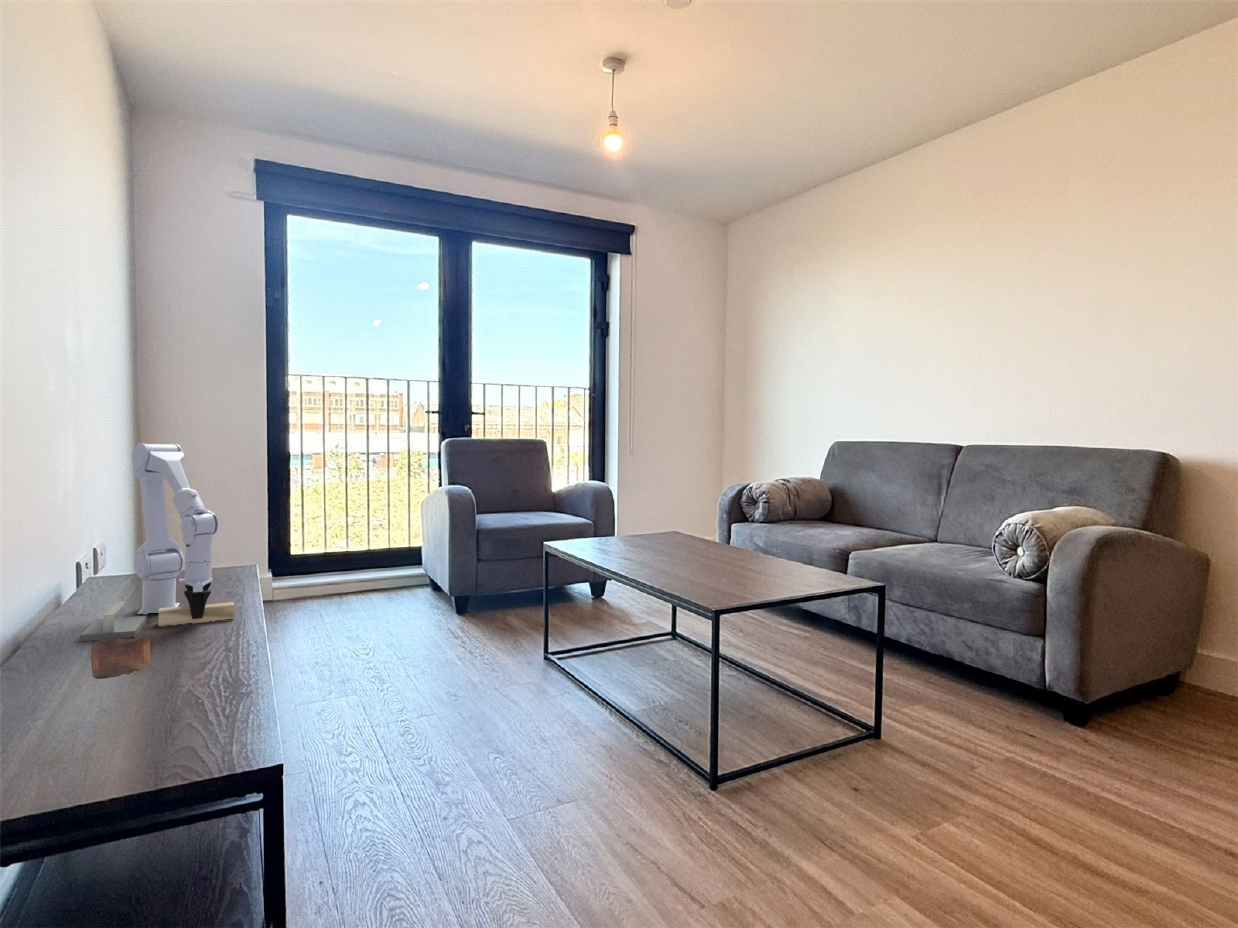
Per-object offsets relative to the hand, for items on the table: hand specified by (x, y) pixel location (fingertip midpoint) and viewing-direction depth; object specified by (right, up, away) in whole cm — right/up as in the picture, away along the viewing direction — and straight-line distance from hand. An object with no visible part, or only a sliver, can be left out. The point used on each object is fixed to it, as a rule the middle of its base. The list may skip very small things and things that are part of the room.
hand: (197, 614), depth 167 cm
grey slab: (-13, -1, -11) cm, 17 cm away
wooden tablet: (+1, -3, -27) cm, 28 cm away
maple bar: (0, -2, 0) cm, 2 cm away
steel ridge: (-13, 0, -11) cm, 16 cm away
